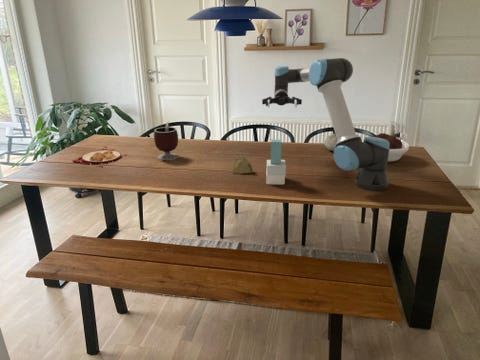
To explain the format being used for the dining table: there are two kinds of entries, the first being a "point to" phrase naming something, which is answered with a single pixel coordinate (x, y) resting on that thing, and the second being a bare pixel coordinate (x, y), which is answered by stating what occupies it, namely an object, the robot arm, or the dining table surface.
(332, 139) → the decorative shell
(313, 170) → the dining table surface
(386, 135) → the white shallow bowl
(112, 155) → the plate with food
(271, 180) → the tower base
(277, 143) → the teal post
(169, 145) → the mate gourd
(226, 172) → the dining table surface
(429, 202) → the dining table surface
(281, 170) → the tower top
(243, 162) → the rock
